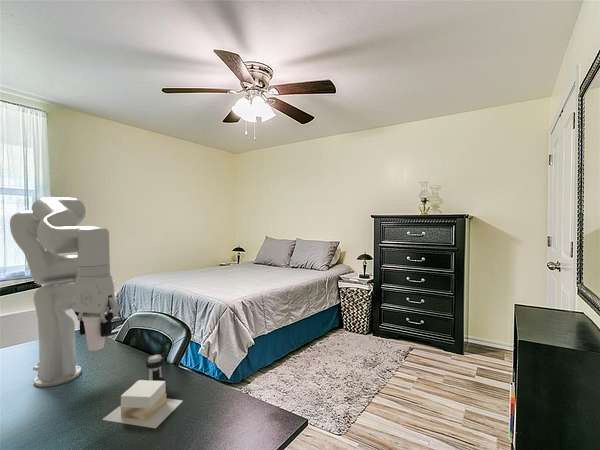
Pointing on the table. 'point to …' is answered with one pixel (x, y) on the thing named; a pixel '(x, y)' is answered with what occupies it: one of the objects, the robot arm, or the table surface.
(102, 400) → the table surface
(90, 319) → the smoothie
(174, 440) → the table surface
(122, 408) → the bottom slab
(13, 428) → the table surface
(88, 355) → the table surface
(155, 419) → the felt mat
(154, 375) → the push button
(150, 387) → the top slab
